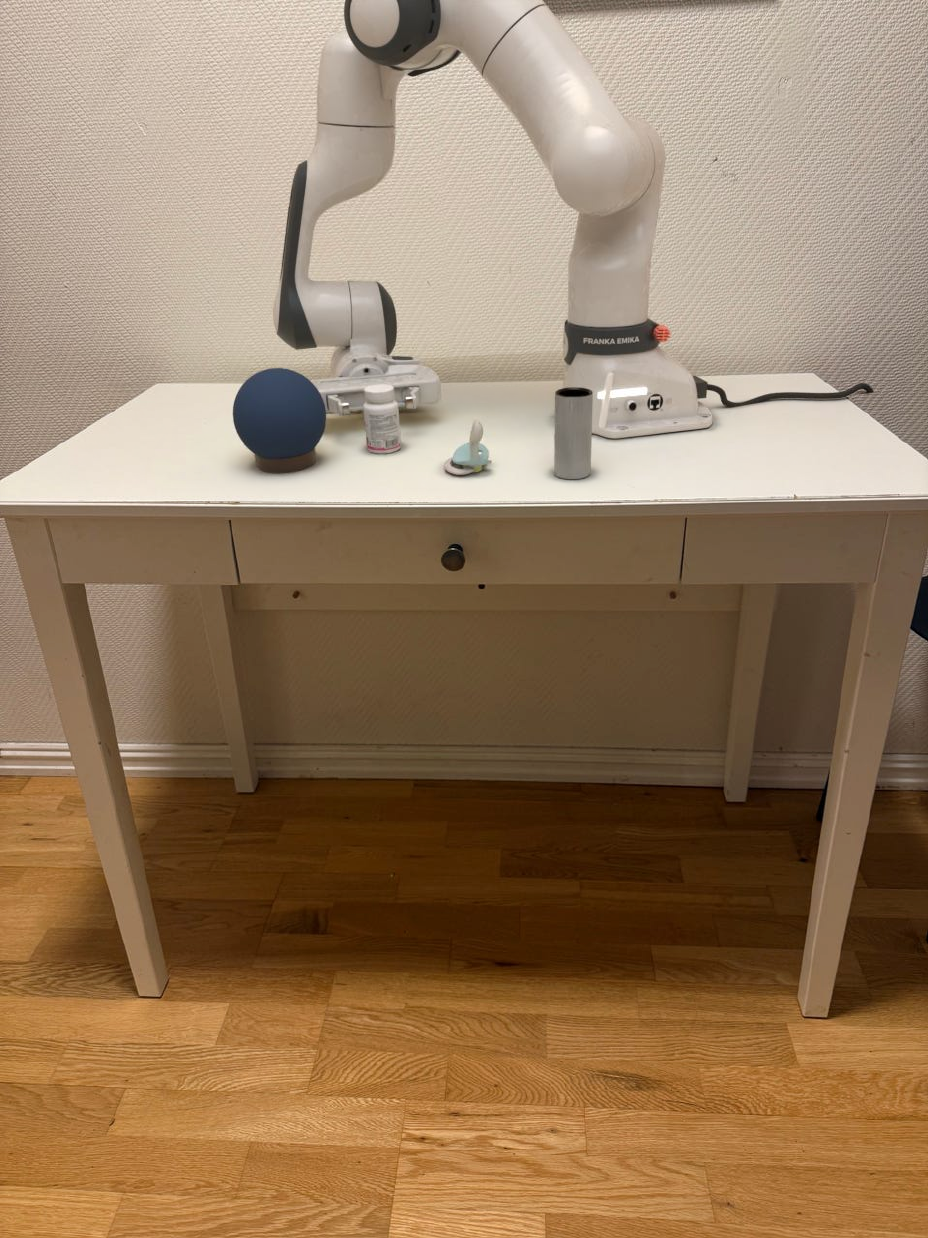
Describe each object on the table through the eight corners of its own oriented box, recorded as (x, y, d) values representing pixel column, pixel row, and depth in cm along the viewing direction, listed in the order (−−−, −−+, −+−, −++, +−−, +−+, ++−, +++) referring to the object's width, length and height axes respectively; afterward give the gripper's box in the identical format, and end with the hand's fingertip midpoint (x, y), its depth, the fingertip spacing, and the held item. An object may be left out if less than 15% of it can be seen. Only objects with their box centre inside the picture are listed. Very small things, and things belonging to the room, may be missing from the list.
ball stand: (319, 452, 126) (317, 438, 125) (313, 471, 119) (311, 456, 118) (261, 455, 126) (258, 441, 125) (252, 474, 119) (249, 460, 118)
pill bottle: (370, 443, 128) (365, 383, 124) (404, 443, 128) (399, 382, 124) (364, 454, 124) (358, 392, 120) (398, 454, 124) (393, 392, 120)
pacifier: (445, 480, 114) (493, 476, 114) (441, 432, 111) (490, 427, 111) (443, 461, 121) (488, 457, 121) (439, 415, 118) (485, 411, 118)
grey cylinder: (588, 480, 112) (591, 397, 107) (552, 479, 113) (552, 396, 108) (591, 468, 116) (594, 387, 111) (556, 466, 117) (557, 386, 112)
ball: (334, 443, 127) (324, 356, 122) (327, 472, 117) (316, 378, 111) (248, 447, 127) (234, 360, 121) (233, 477, 116) (217, 383, 111)
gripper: (294, 368, 135) (300, 391, 123) (429, 355, 139) (447, 376, 127) (299, 410, 138) (305, 436, 126) (431, 396, 142) (449, 421, 130)
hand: (378, 406), depth 127 cm, fingers open, 8 cm apart
